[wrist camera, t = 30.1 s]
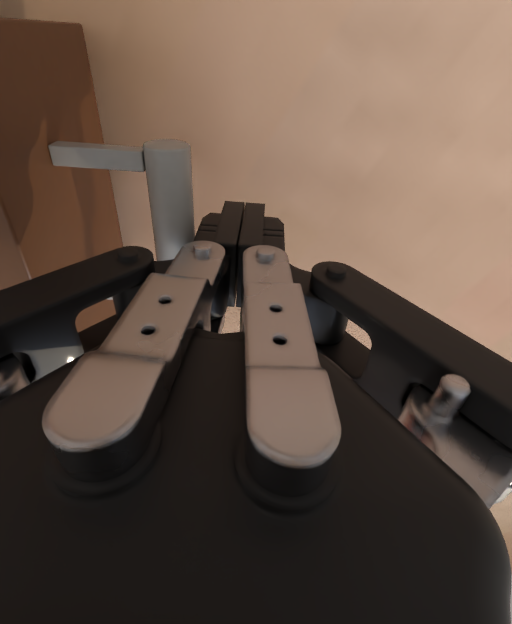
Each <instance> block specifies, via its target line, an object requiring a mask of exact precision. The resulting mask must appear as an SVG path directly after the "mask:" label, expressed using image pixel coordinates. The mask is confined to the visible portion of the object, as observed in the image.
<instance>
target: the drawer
mask: <svg viewBox="0 0 512 624" xmlns="http://www.w3.org/2000/svg"><path fill="white" fill-rule="evenodd" d="M109 170H122V171H135V172H144V171H145V170H146V176H147V184H148V192H149V200H150V208H151V216H152V224H153V232H154V241H155V249H156V257H157V261H164V260H171V259H174V258H175V256H176V255H177V253H178V252H179V250H180V248H181V247H182V246H183V245H185V244H187V243H190V242H193V241H194V238H195V227H194V207H193V186H192V166H191V146H190V144H189V143H187V142H184V141H181V140H175V139H156V140H150V141H147V142H145V143H144V144H143V147H135V146H122V145H108V144H104V141H103V135H102V130H101V125H100V119H99V114H98V108H97V103H96V98H95V92H94V87H93V81H92V76H91V71H90V65H89V60H88V54H87V49H86V43H85V38H84V33H83V27H82V25H81V24H79V23H67V22H53V21H40V20H27V19H13V18H0V290H2V289H5V288H8V287H11V286H14V285H16V284H19V283H22V282H25V281H27V280H30V279H33V278H36V277H39V276H41V275H44V274H47V273H50V272H53V271H55V270H58V269H61V268H64V267H66V266H69V265H72V264H75V263H78V262H80V261H83V260H86V259H89V258H92V257H94V256H97V255H100V254H103V253H105V252H108V251H111V250H114V249H117V248H121V247H123V244H122V238H121V233H120V227H119V222H118V217H117V211H116V206H115V200H114V195H113V190H112V184H111V179H110V173H109ZM115 314H116V311H115V307H114V302H113V298H112V297H110V298H108V299H106V300H103V301H101V302H99V303H97V304H94V305H92V306H90V307H88V308H86V309H84V310H82V311H81V312H80V313H79V314H78V316H77V317H76V321H75V325H76V328H77V331H78V332H80V331H82V330H84V329H86V328H88V327H90V326H92V325H94V324H97V323H99V322H101V321H103V320H105V319H107V318H109V317H111V316H113V315H115Z"/></svg>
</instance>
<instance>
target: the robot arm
mask: <svg viewBox="0 0 512 624" xmlns="http://www.w3.org/2000/svg"><path fill="white" fill-rule="evenodd" d="M244 208H245V210H244ZM264 211H265V204H259V203H246V205H245V204H244V202H232V201H225V203H224V206H223V210H222V213H221V214H220V213H210V214H208V215H206V216H205V217H203V219H202V221H201V224H200V226H199V228H198V231H197V233H196V236H195V238H194V241H193V242H190V243H187V244H185V245H183V246H182V247H181V248H180V250H179V252H178V253H177V255H176V256H175V258H174V259H171V260H164V261H154V258H153V254H152V252H151V251H150V250H148V249H146V248H143V247H138V246H126V247H121V248H117V249H114V250H111V251H108V252H105V253H103V254H100V255H97V256H94V257H92V258H89V259H86V260H83V261H80V262H78V263H75V264H72V265H69V266H66V267H64V268H61V269H58V270H55V271H53V272H50V273H47V274H44V275H41V276H39V277H36V278H33V279H30V280H27V281H25V282H22V283H19V284H16V285H14V286H11V287H8V288H5V289H2V290H0V624H511V620H510V619H511V618H510V595H511V567H510V559H509V554H508V551H507V547H506V543H505V540H504V538H503V535H502V533H501V530H500V528H499V526H498V524H497V522H496V520H495V518H494V517H493V515H492V513H491V511H490V510H489V509H490V508H491V506H492V505H493V504H495V503H499V502H501V501H503V500H504V499H505V498H506V497H507V496H508V495H509V494H510V493H511V492H512V362H510V361H508V360H507V359H505V358H503V357H501V356H500V355H498V354H496V353H495V352H493V351H491V350H490V349H488V348H486V347H485V346H483V345H481V344H480V343H478V342H476V341H475V340H473V339H471V338H470V337H468V336H466V335H465V334H463V333H461V332H460V331H458V330H456V329H455V328H453V327H451V326H449V325H448V324H446V323H444V322H443V321H441V320H439V319H438V318H436V317H434V316H433V315H431V314H429V313H428V312H426V311H424V310H423V309H421V308H419V307H418V306H416V305H414V304H413V303H411V302H409V301H408V300H406V299H404V298H403V297H401V296H399V295H397V294H396V293H394V292H392V291H391V290H389V289H387V288H386V287H384V286H382V285H381V284H379V283H377V282H376V281H374V280H372V279H371V278H369V277H367V276H366V275H364V274H362V273H361V272H359V271H357V270H356V269H354V268H352V267H350V266H348V265H346V264H343V263H339V262H330V261H328V262H321V263H318V264H316V265H315V266H314V267H313V268H312V272H308V271H304V270H301V269H298V268H296V267H294V266H292V265H291V264H290V263H289V260H288V256H287V254H286V252H285V243H284V224H283V223H282V222H281V221H280V220H279V219H278V218H274V217H264ZM236 292H237V299H236ZM110 297H112V298H113V302H114V307H115V311H116V314H115V315H113V316H111V317H109V318H107V319H105V320H103V321H101V322H99V323H97V324H94V325H92V326H90V327H88V328H86V329H84V330H82V331H80V332H78V331H77V328H76V325H75V321H76V317H77V316H78V314H79V313H80V312H81V311H82V310H84V309H86V308H88V307H90V306H92V305H94V304H97V303H99V302H101V301H103V300H106V299H108V298H110ZM235 299H236V307H241V312H240V332H235V333H225V334H221V332H222V329H223V325H224V320H225V312H226V309H227V306H230V307H234V305H235ZM348 319H350V320H351V321H352V322H354V323H355V324H356V325H358V326H359V327H361V328H362V329H363V330H365V331H366V332H367V333H368V335H369V336H370V339H371V342H372V347H371V350H370V349H368V348H367V347H366V346H364V345H363V344H362V343H360V342H359V341H358V340H356V339H355V338H354V337H352V336H351V335H350V334H348V333H347V332H346V331H345V330H346V326H347V322H348Z"/></svg>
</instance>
